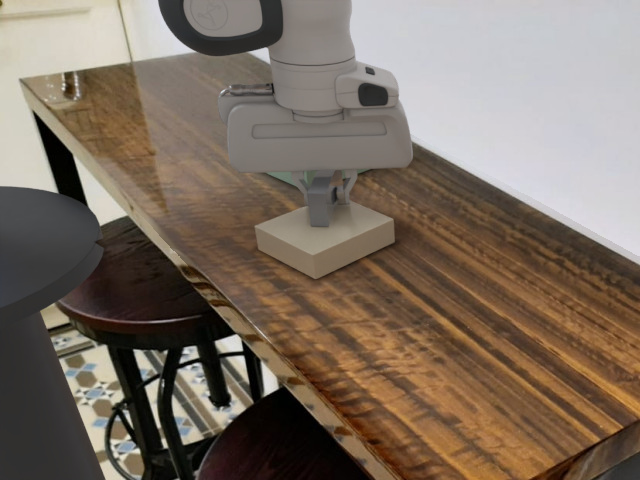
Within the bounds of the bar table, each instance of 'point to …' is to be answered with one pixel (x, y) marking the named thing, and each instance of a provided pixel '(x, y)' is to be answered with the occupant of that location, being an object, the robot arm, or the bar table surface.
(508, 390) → the bar table surface
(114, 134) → the bar table surface
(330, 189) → the slate gray plank
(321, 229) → the block
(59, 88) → the bar table surface
